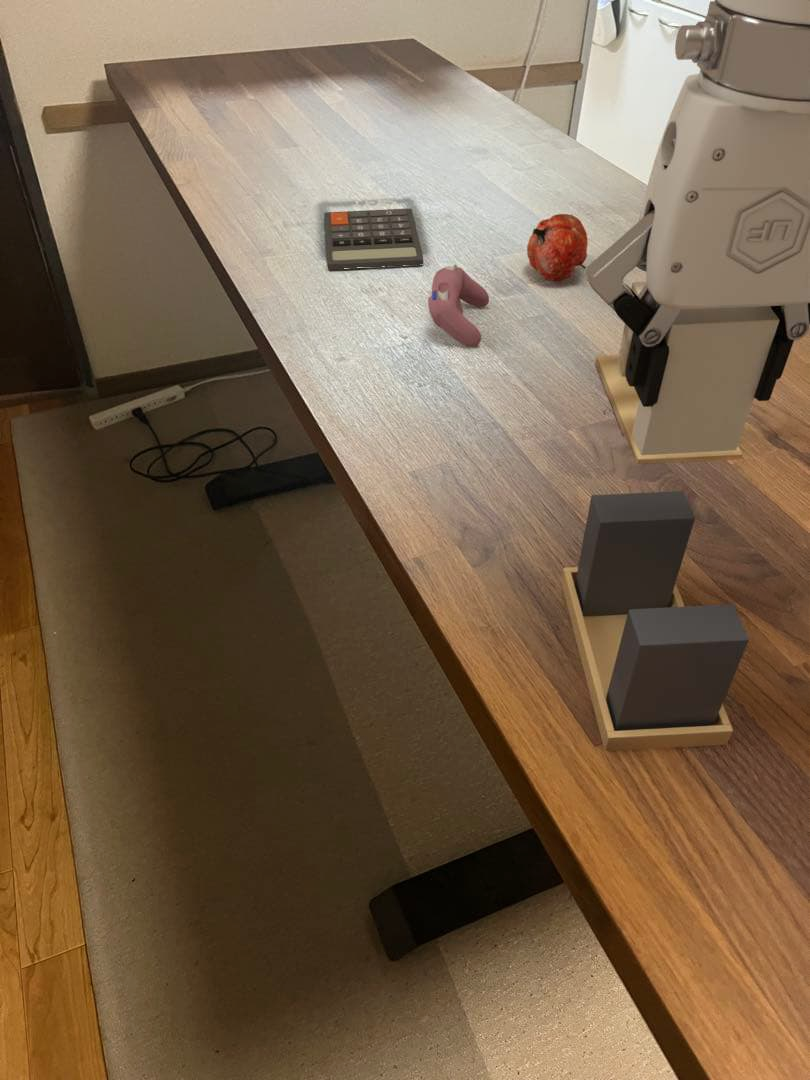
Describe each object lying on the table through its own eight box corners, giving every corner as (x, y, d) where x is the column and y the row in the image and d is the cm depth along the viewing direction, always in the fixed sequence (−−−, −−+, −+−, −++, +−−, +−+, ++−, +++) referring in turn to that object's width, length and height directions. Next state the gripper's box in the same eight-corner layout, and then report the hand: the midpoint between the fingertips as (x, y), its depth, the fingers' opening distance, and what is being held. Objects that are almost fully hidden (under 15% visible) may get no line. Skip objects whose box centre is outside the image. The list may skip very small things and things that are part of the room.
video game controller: (456, 314, 99) (430, 260, 95) (493, 300, 97) (467, 245, 94) (444, 360, 92) (415, 304, 88) (483, 346, 90) (455, 289, 87)
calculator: (411, 206, 115) (423, 258, 104) (411, 213, 115) (423, 265, 105) (323, 210, 114) (326, 263, 103) (324, 217, 115) (327, 270, 104)
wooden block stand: (740, 463, 77) (772, 367, 70) (636, 467, 77) (657, 371, 70) (684, 360, 89) (707, 269, 82) (594, 363, 89) (609, 273, 82)
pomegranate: (556, 273, 108) (500, 235, 102) (598, 227, 104) (542, 185, 98) (576, 308, 103) (518, 270, 97) (621, 261, 99) (564, 219, 94)
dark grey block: (710, 732, 56) (750, 639, 50) (614, 738, 56) (640, 645, 49) (698, 697, 58) (733, 603, 52) (604, 702, 58) (628, 608, 51)
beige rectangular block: (736, 450, 53) (780, 319, 47) (640, 455, 53) (671, 324, 46) (724, 429, 55) (765, 299, 48) (631, 433, 54) (660, 304, 48)
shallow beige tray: (725, 748, 56) (733, 730, 55) (603, 755, 56) (608, 737, 54) (662, 580, 67) (667, 562, 65) (560, 585, 66) (563, 567, 65)
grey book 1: (666, 612, 64) (695, 517, 57) (581, 617, 63) (600, 522, 57) (656, 585, 66) (683, 490, 59) (573, 589, 65) (591, 494, 59)
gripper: (622, 84, 35) (567, 436, 48) (1028, 72, 36) (868, 421, 49) (581, 34, 41) (541, 362, 53) (935, 24, 41) (813, 349, 54)
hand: (698, 388), depth 51 cm, fingers closed on beige rectangular block, 6 cm apart
